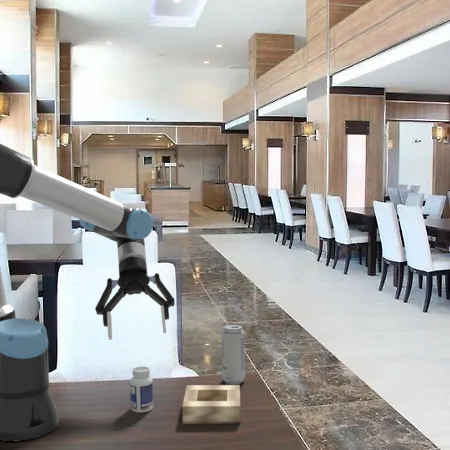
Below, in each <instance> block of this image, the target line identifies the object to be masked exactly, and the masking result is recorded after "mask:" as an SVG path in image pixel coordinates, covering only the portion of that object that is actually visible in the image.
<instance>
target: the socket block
mask: <svg viewBox="0 0 450 450" xmlns="http://www.w3.org/2000/svg"><path fill="white" fill-rule="evenodd" d="M240 386H241V385H240V384H234V385H233V384H213V385H212V384H204V385H203V384H200V385H199V384H197V385H196V384H194V385H193V384H191V385H190V384H189V385H188V384H186V387H185V392H184V396H183V402H182V424H183V425H186V424H189V425H190V424H191V425H193V424H196V425H198V424H199V425H200V424H207V425H209V424H212V425H213V424H220V425H221V424H241V387H240Z"/></svg>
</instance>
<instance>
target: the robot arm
mask: <svg viewBox="0 0 450 450" xmlns="http://www.w3.org/2000/svg"><path fill="white" fill-rule="evenodd" d="M0 195H3V196H6V197H9V198H11V199H16V198H18V197H22V198H24V199H27V200H29V201H31V202H34V203H37V204H40V205H43V206H45V207H48V208H50V209H53V210H55V211H58V212H61V213H63V214H65V215H68V216H70V217H73V218H76V219H77V220H78V219H79V223H80V226H81V227H82V228H85V229H86V230H87V231H89V232H92V233H95V234H98V235H99V236H102V237H104V238H106V239H109V240H111V241H114V242H116V245H117V246H116V247H117V259H118V279H112V278H111V277H108V278H107V281H106V286H105V288H104V291H103V292H102V293H101V296H100V298H99V300H98V302H97V304H96V306H95V313H96V315H98V316H99V315H101V316H102V323H103V327H105V328H106V327H107V337H108V340H113V328H112V327H113V325H112V324H113V323H112V315H111V312H112V311H113V310H114V309H115V307H116V306H117V305H118V304H119V303H120V302H121V300H122V299H123V298H124V297H126V295H129V296H132V295H141V294H142V293H143V294H145V295H146V296H148V297H149V298H150V299H152V300H153V301H154V302H155V303H157V304H158V306H160V313H161V321H162V322H161V323H162V333H163V334H167V325H166V320H167V321H168V320H170V312H169V310H170V307H174V306H175V305H176V303H175V298H174V297H173V295H172V294H171V293H170V291H169V290H168V288H167V287H166V286H165V284H164V283H163V282H162V280H161V277H160V274H159V273H158V272H157V273H156V272H155V273H154V275H150V276H149V274H148V267H147V266H148V265H147V256H146V254H147V253H146V246H145V245H146V244H145V243H146V242H145V239H146V238H147V237H149V235H151V233H152V230H153V227H154V220H153V217H152V215H151V213H149V212H148V211H147V210H145V209H141V208H132V207H130V206H128V205H126V204H123V203H120V202H119V201H116V200H114V199H112V198H110V197H107V196H106V195H103V194H101V193H98V192H96V191H95V190H91V189H90V188H88V187H85V186H83V185H81V184H78V183H77V182H74V181H71V180H69V179H68V178H65V177H62V176H60V175H58V174H56V173H54V172H51V171H49V170H47V169H45V168H43V167H40V166H37V165H36V164H34V160H33V159H32V157H30V156H27V155H26V154H23V153H20V151H16V150H15V149H12V148H10V147H8V146H7V145H4V144H2V143H0ZM150 282H151V283H152V284H154V285H156V288H157V289H158V290H159V292H160V293H161V294H162V296H163V297H164V298H163V297H162V296H161V295H160V294H159V293H158V292H157V291H155V290H154V289H153V288H151V287H150V285H149V284H150ZM116 286H118V287H119V288H118V290H117V291H116V292H115V293H114V295H113V296H112V297H111V298H110V296H111V295H112V293H113V290H114V289H115V288H116ZM4 287H5V286H4V281H3V275H2V269H1V267H0V440H3V441H2V442H4V441H14V440H25V441H29V440H28V439H30V440H33V439H37V438H40V437H43V436H45V435H47V434H49V433H51V432H53V431H54V430H55V429H56V428H57V427H58V425H59V423H60V421H59V412H58V408H57V406H56V403H55V401H54V399H53V396H52V394H51V391H50V374H49V372H50V371H49V370H50V369H49V338H48V333H47V328H46V326H45V325H44V324H43V323H42V322H40V321H38V320H35V319H33V318H32V319H31V318H28V319H26V318H17V315H16V310H15V307H14V305H13V304H11V303H9V302H8V301H7V300H6V292H5V288H4ZM109 298H110V300H109Z"/></svg>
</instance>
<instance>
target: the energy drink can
mask: <svg viewBox="0 0 450 450" xmlns="http://www.w3.org/2000/svg"><path fill="white" fill-rule="evenodd" d="M223 328H224V329H223V331H222V333H221V351H222V352H221V354H222V355H221V356H222V357H221V358H222V359H221V365H222V366H221V367H222V370H221V372H222V375H221V376H222V380H223V381H224V383H225V384H226V385H240V384H242V383H243V382H244V380H245V377H246V374H245V373H246V371H245V370H246V368H245V367H246V365H245V363H246V362H245V361H246V360H245V359H246V358H245V352H246V351H245V347H246V346H245V343H246V342H245V339H246V338H245V331H244V329H243V326H242V325H239V324H226V325H224V327H223Z"/></svg>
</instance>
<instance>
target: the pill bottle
mask: <svg viewBox="0 0 450 450" xmlns="http://www.w3.org/2000/svg"><path fill="white" fill-rule="evenodd" d="M153 380H154V379H153V378H152V376H150V368H149V367H147V366H137V367H134V368H132V377H131V378H130V379H129V389H130V391H129V392H130V402H129V403H130V409H131V411H132V412H134V413H147V412H150V411H151V410H153V409H154V384H153V383H154V381H153Z"/></svg>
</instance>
